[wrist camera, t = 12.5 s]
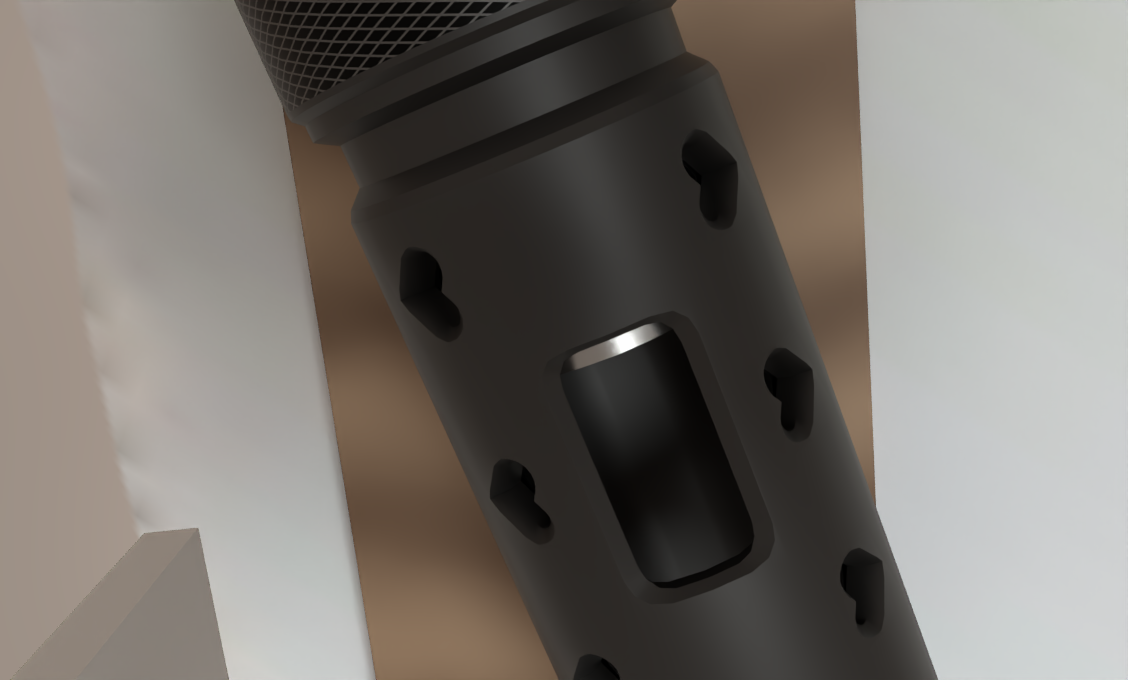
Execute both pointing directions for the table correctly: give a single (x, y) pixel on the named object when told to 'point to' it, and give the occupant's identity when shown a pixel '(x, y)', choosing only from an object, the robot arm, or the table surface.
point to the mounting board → (405, 410)
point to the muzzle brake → (604, 331)
